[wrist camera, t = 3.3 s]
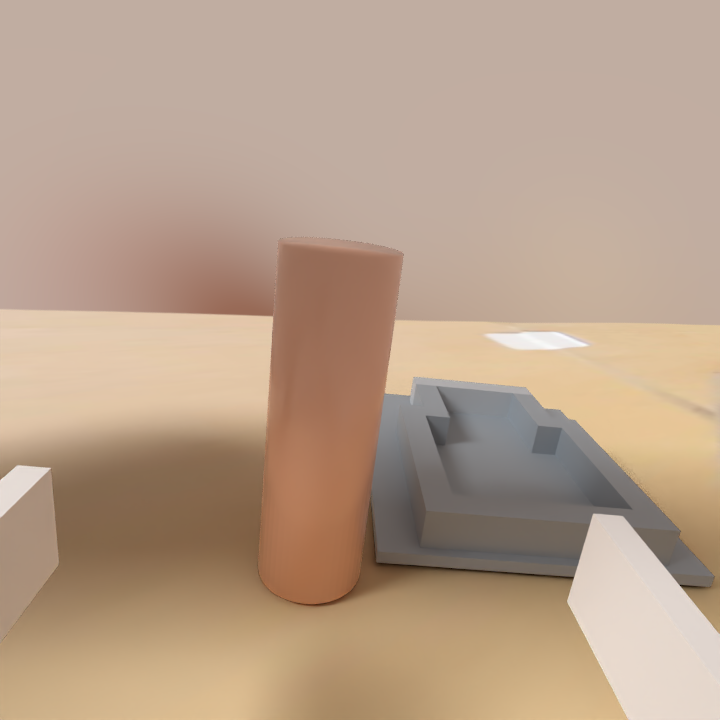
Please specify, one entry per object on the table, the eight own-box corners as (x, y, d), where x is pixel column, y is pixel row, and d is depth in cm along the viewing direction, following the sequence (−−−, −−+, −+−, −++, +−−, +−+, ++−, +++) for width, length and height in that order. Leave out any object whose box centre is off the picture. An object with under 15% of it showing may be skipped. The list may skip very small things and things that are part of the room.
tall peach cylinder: (250, 600, 21) (270, 247, 17) (265, 529, 26) (285, 233, 21) (361, 607, 22) (410, 262, 17) (358, 537, 26) (397, 245, 21)
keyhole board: (376, 562, 24) (383, 513, 23) (362, 398, 42) (366, 367, 41) (710, 586, 25) (728, 541, 24) (558, 416, 43) (565, 387, 42)
